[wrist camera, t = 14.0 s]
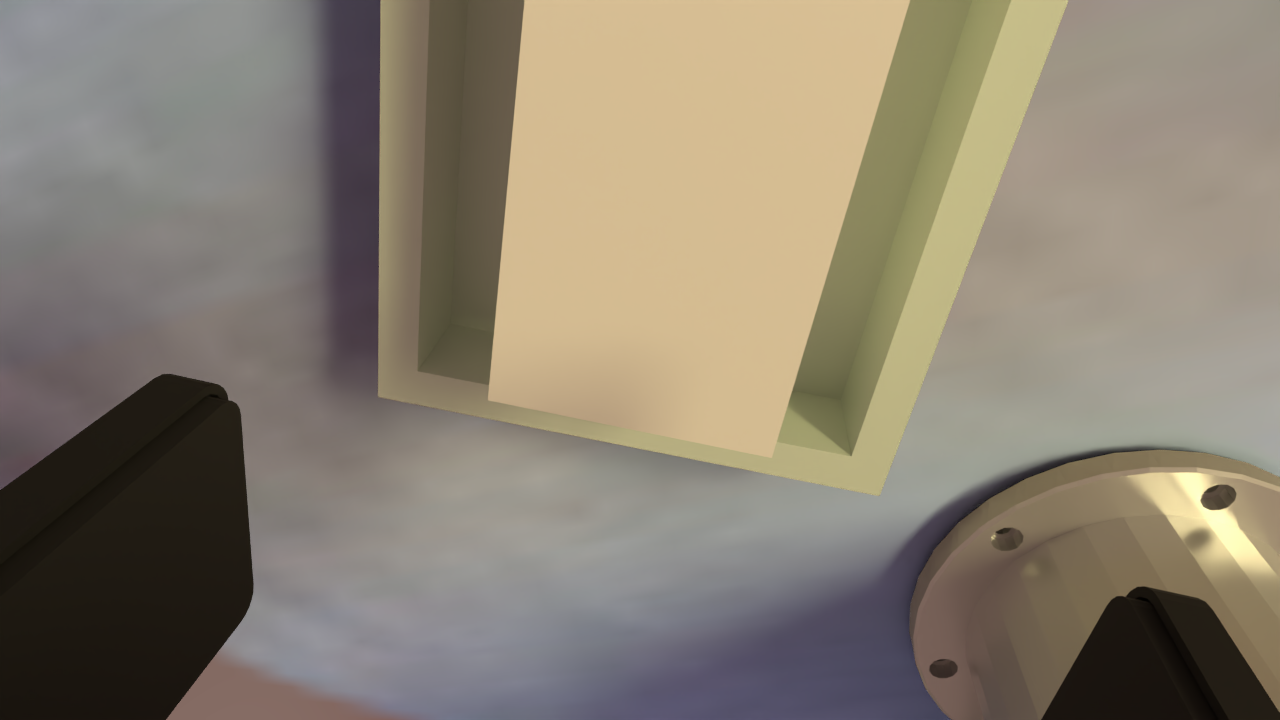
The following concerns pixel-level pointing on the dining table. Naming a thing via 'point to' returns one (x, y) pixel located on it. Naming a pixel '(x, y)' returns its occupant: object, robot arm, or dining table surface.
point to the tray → (861, 264)
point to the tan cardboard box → (679, 205)
